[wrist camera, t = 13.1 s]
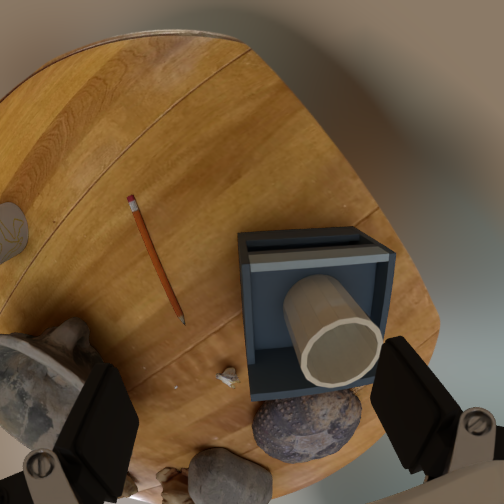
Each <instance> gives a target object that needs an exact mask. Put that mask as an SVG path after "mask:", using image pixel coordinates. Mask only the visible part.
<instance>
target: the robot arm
mask: <svg viewBox="0 0 504 504" xmlns="http://www.w3.org/2000/svg"><path fill="white" fill-rule="evenodd" d="M370 400H371V404H372V406H373V408H374V410H375V412H376V414H377V416H378V418H379V420H380V422H381V424H382V426H383V428H384V430H385V432H386V433H387V436H388V437H389V439H390V441H391V443H392V445H393V447H394V450H395V452H396V454H397V455H398V458H399V460H400V462H401V464H402V466H403V467H404V468H405V469H409V472H410V474H414V473H417V472H419V471H422V470H423V471H424V473H425V475H426V476H425V480H424V482H423V484H421V485H419V486H416V487H414V488H411V489H408V490H406V491H403V492H400V493H397V494H395V495H392V496H389V497H386V498H383V499H380V500H377V501H374V502H370V503H367V504H504V427H502V426H497V425H496V421H495V418H494V416H493V415H492V414H491V413H490V412H489V411H488V410H486V409H483V408H480V407H473V408H469V409H467V410H465V411H464V412H463V411H462V410H461V408H460V406H459V405H458V404H457V402H456V401H455V400H454V399H453V397H452V396H451V395H450V393H449V392H448V391H447V390H446V388H445V387H444V386H443V385H442V383H441V382H440V381H439V379H438V378H437V377H436V376H435V375H434V373H433V372H432V371H431V370H430V368H429V367H428V366H427V365H426V363H425V362H424V361H423V360H422V359H421V357H420V356H419V355H418V354H417V353H416V351H415V350H414V349H413V348H412V347H411V345H410V344H409V343H408V342H407V341H406V339H405V338H404V337H403V336H397V337H393V338H388V339H387V340H386V341H385V343H384V344H382V346H381V350H380V355H379V360H378V365H377V369H376V374H375V378H374V383H373V387H372V391H371V395H370ZM138 427H139V419H138V416H137V414H136V411H135V409H134V407H133V405H132V402H131V400H130V398H129V395H128V393H127V391H126V388H125V386H124V383H123V381H122V378H121V376H120V373H119V371H118V369H117V368H115V367H113V365H112V364H110V363H96V364H95V365H94V367H93V369H92V370H91V372H90V374H89V376H88V378H87V380H86V382H85V384H84V386H83V387H82V389H81V391H80V393H79V395H78V397H77V399H76V401H75V403H74V405H73V407H72V409H71V411H70V413H69V415H68V417H67V419H66V421H65V423H64V425H63V428H62V430H61V432H60V434H59V436H58V438H57V441H56V443H55V445H54V447H53V449H52V451H51V450H49V449H46V448H39V449H35V450H33V451H31V452H30V453H29V454H28V455H27V456H26V458H25V459H24V462H23V471H21V472H19V473H16V474H14V475H12V476H9V477H7V478H4V479H2V480H0V504H104V501H106V502H111V503H116V502H117V498H118V497H121V496H122V493H123V489H124V484H125V480H126V475H127V471H128V467H129V462H130V458H131V454H132V450H133V446H134V442H135V438H136V434H137V430H138Z"/></svg>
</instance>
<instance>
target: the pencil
mask: <svg viewBox="0 0 504 504" xmlns="http://www.w3.org/2000/svg"><path fill="white" fill-rule="evenodd" d="M127 200H128V202H129V205H130V208H131V210H132V213H133V216H134V218H135V221H136V223H137V226H138V228H139V231H140V233H141V236H142V238H143V241H144V243H145V246H146V248H147V250H148V253H149V255H150V258H151V260H152V262H153V265H154V267H155V269H156V271H157V274H158V276H159V278H160V280H161V283H162V285H163V287H164V289H165V291H166V294H167V296H168V298H169V300H170V302H171V304H172V306H173V309H174V311H175V313H176V315H177V317H178V318H179V319H180V320H181V321H182V323H183V324H184V325H185V322H184V317H183V313H182V311H181V309H180V306H179V304H178V302H177V300H176V298H175V296H174V293H173V291H172V289H171V287H170V285H169V282H168V280H167V278H166V275H165V273H164V271H163V269H162V266H161V264H160V262H159V259H158V257H157V254H156V252H155V250H154V247H153V245H152V242H151V240H150V237H149V235H148V232H147V230H146V227H145V225H144V222H143V220H142V217H141V215H140V212H139V209H138V207H137V204H136V201H135V199H134V196H133V195H131V196H128V197H127Z"/></svg>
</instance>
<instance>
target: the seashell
mask: <svg viewBox="0 0 504 504" xmlns="http://www.w3.org/2000/svg"><path fill="white" fill-rule="evenodd" d="M137 492H138V488H137V486H136V484H135V483H134V482H133V480H132V478H130V477H129V476H128V475H126V480H125V484H124V489H123V493H122V496H121V497H118V498H117V499H119V498H123V497H126V498H127V497H130V496H131V495H133V494H135V493H137Z"/></svg>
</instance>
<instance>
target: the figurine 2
mask: <svg viewBox="0 0 504 504" xmlns="http://www.w3.org/2000/svg"><path fill="white" fill-rule="evenodd" d="M235 371H236V370H235V368H233V367H232V368H227V369H226V370H225V371H224V373H223V374H220V373H217V374H216V378H217V379H220V380H222V381H223V382H224V383H225V384H227V385H229V386H230V387H232V388H234V389H235V386H234V385H232V384H233V383H236V382H237V383H241V382H240V380H239V379H238V377H237V375H236V373H235ZM176 388H177V386H176V387H175V389H176Z"/></svg>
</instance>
